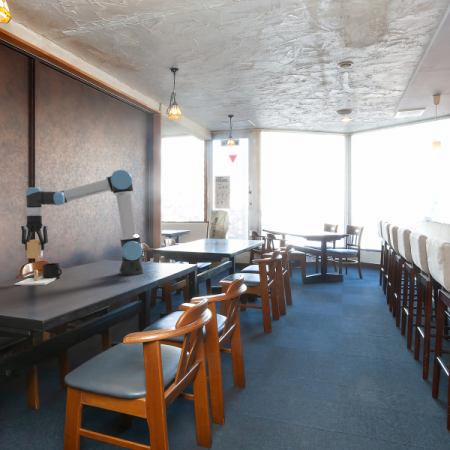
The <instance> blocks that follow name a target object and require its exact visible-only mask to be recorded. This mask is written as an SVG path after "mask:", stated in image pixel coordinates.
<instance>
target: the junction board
mask: <svg viewBox="0 0 450 450" xmlns="http://www.w3.org/2000/svg"><path fill="white" fill-rule="evenodd" d="M56 280H57V279H56V278H44V276H43V275H41V276H39V270H38V269H34V270H33V278H32V277H31V278H29V277H28V278H26V279H23V280H21V281H19V282H16V283H14V286H15V285H21V286H46V285H47V284H50V283H52V282H54V281H56Z"/></svg>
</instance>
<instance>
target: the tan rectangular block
mask: <svg viewBox="0 0 450 450" xmlns="http://www.w3.org/2000/svg"><path fill="white" fill-rule="evenodd" d="M39 245H41V243H40V240H39V239H30V242H27V250H26V259H41V258H44V255H43V256H40V251H39Z"/></svg>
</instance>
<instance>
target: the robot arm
mask: <svg viewBox="0 0 450 450" xmlns="http://www.w3.org/2000/svg"><path fill="white" fill-rule="evenodd" d="M133 187H134V186H133V176H132V175H131V173H130V172H129V171H127V170H126V169H117V170H115V171H113V172H112V175H110V176H107V177H105V178H104V179H101V180H97V181H95V182H94V181H93V182H91V183H86V184H83V185H79V186H75V187H72V188H68V189H64V190H60V191H57V190H56V191H45V190H43V191H42V188H41V187H27V188H26V190H25V191H26V193H25V199H26V215H27V216H26V225H22V226H20V228H21V244H22V245H25V246H24V247H25V248H24V249H25V251H27V242H30V240H32V239H31V238H32V235H33V233H34V232H35V233H36V234H37V237H38V240H40V243H41V245H39V251H40V256H43V257H44V251H45V245H46V244H48V243H49V239H48V229H49V228H48V225H44V224H43V219H42V218H43V216H42V215H43V213H42V205H44V206H45V205H47V206H49V205H50V206H61V205H62V206H63V205H64V204H66V203H71V202H73V201H78V200H81V199H85V198H89V197H93V196H95V195H100V194H102V193H103V194H104V193H107V192H110V193H113V195H114V196H116V202H117V208H118V216H119V223H120V229H121V237H120V247H121V248H120V249H121V263H120V267H119V271H118V274H119V275H121V276H135V275H142V274H144V267H143V263H142V262H141V256H142V254H143V247H142V241H141V236H140V235H139V234H138V232H137V226H136V219H135V218H136V217H135V212H134V211H135V210H134V205H133V198H132V194H133V193H134V188H133ZM27 230H28V231H27ZM42 233H43V234H42Z"/></svg>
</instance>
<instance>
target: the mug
mask: <svg viewBox="0 0 450 450" xmlns="http://www.w3.org/2000/svg"><path fill="white" fill-rule="evenodd" d="M41 268H42V269H41V271H42V275H43V276H44V278H56V280H58V279H60V278H61V275H62V274H63V273H62V272H63V270H62V269H61V267H60V263H58V262H52V263H51V262H50V263H43V264H42V265H41ZM42 275H41V276H42Z"/></svg>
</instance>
